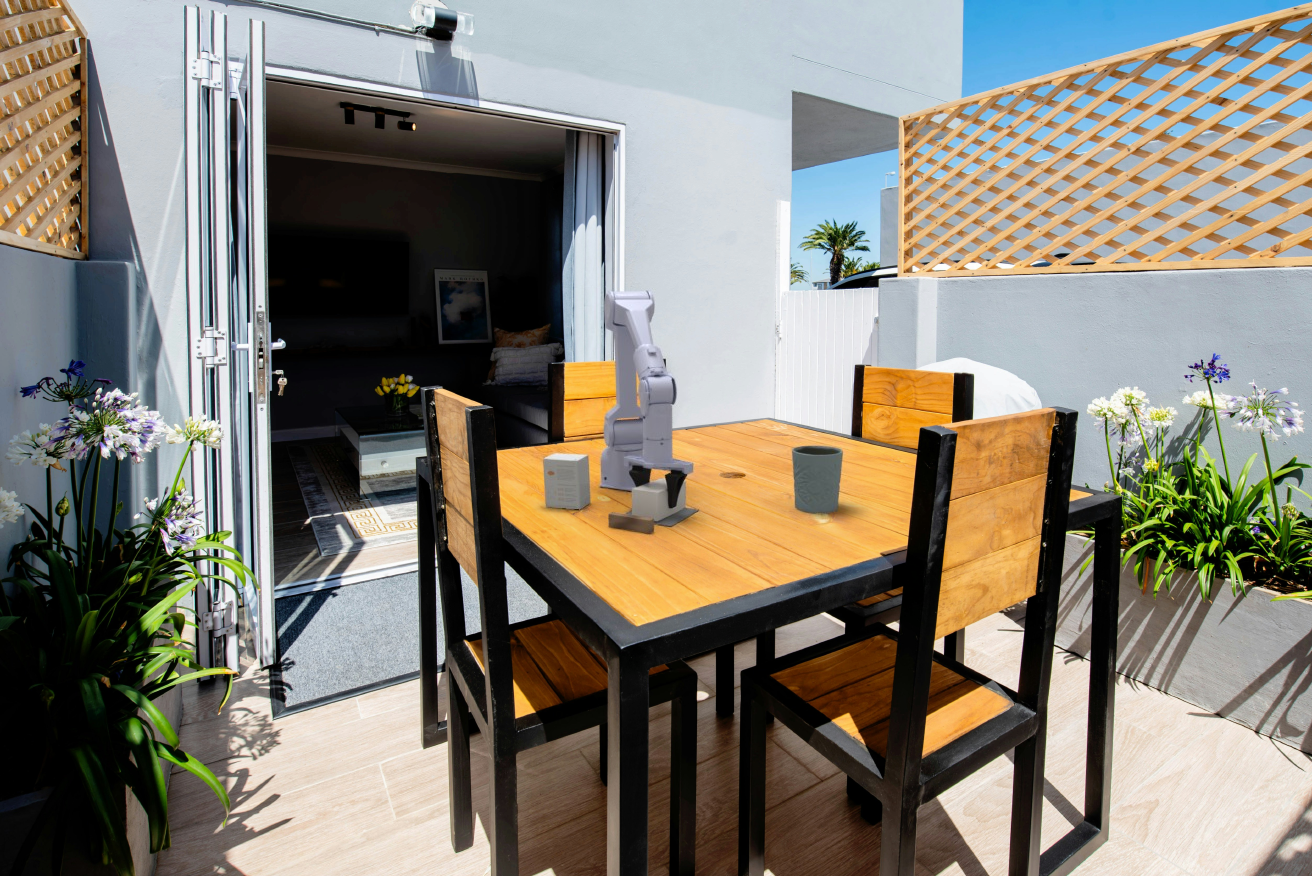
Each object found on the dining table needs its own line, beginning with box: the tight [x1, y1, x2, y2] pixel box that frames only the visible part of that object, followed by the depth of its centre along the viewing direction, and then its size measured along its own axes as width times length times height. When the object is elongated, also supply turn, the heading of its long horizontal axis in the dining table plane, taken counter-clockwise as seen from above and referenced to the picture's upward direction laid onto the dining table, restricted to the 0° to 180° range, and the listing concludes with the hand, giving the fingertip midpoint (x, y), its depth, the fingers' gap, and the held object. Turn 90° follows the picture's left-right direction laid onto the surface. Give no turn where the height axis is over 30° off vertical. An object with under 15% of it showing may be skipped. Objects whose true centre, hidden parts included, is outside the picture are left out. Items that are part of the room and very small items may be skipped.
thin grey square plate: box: [624, 507, 700, 528], centre depth 141 cm, size 12×12×1 cm
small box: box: [542, 452, 592, 511], centre depth 147 cm, size 8×6×10 cm
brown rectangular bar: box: [607, 511, 655, 535], centre depth 132 cm, size 9×2×2 cm, turn 61°
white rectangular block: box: [631, 477, 687, 521], centre depth 141 cm, size 6×12×6 cm, turn 151°
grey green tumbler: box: [791, 445, 844, 514], centre depth 144 cm, size 10×10×12 cm
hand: (658, 505), depth 141 cm, fingers closed on white rectangular block, 6 cm apart
